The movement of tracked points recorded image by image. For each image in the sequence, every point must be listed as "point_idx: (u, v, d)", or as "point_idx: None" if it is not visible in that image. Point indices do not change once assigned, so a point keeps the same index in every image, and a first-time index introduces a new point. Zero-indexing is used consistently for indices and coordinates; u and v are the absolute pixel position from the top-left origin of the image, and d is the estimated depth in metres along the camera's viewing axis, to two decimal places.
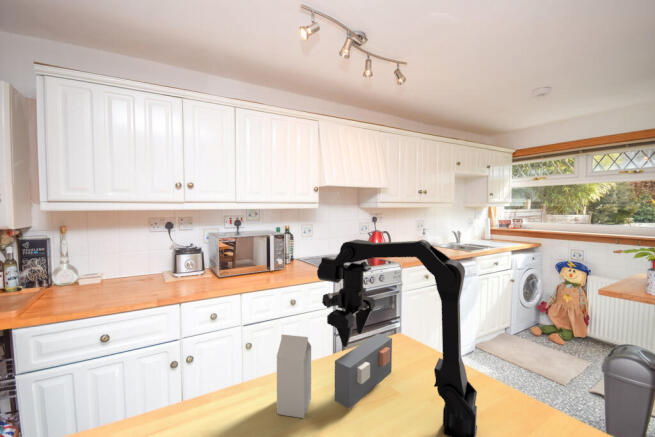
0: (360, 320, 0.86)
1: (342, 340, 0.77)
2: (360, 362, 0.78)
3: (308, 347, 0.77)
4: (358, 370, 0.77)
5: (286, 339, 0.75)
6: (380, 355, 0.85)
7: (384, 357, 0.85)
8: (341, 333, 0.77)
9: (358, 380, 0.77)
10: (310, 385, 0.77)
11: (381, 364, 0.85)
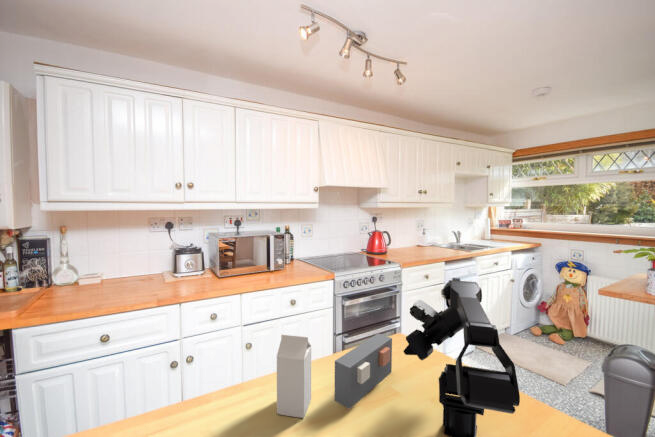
0: None
1: (407, 349, 0.78)
2: (360, 362, 0.78)
3: (308, 347, 0.77)
4: (358, 370, 0.77)
5: (286, 339, 0.75)
6: (380, 355, 0.85)
7: (384, 357, 0.85)
8: None
9: (358, 380, 0.77)
10: (310, 385, 0.77)
11: (381, 364, 0.85)
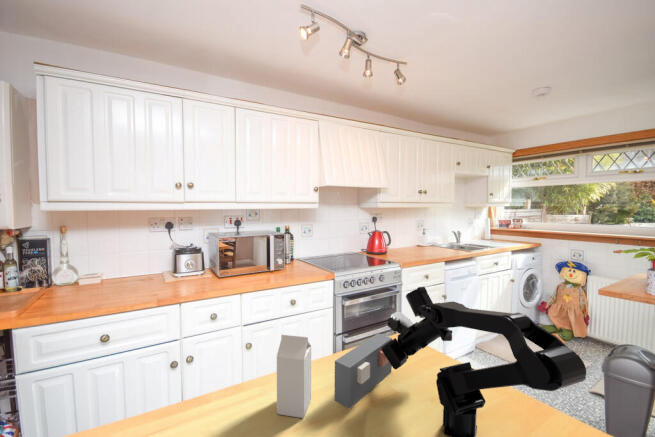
0: None
1: None
2: (360, 362, 0.78)
3: (308, 347, 0.77)
4: (358, 370, 0.77)
5: (286, 339, 0.75)
6: (380, 355, 0.85)
7: (384, 357, 0.85)
8: None
9: (358, 380, 0.77)
10: (310, 385, 0.77)
11: (381, 364, 0.85)
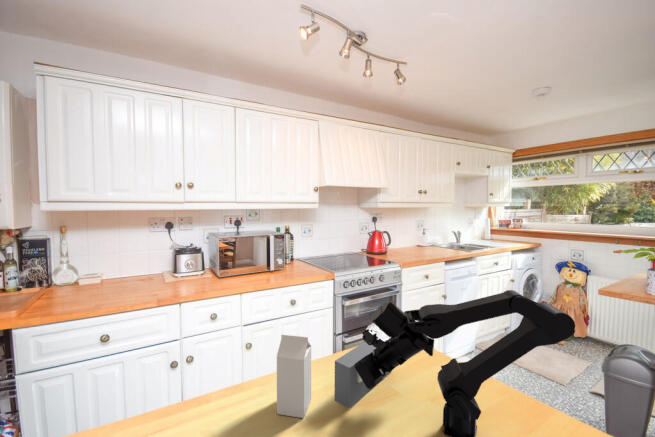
0: None
1: None
2: None
3: (308, 347, 0.77)
4: None
5: (286, 339, 0.75)
6: None
7: None
8: None
9: None
10: (310, 385, 0.77)
11: None
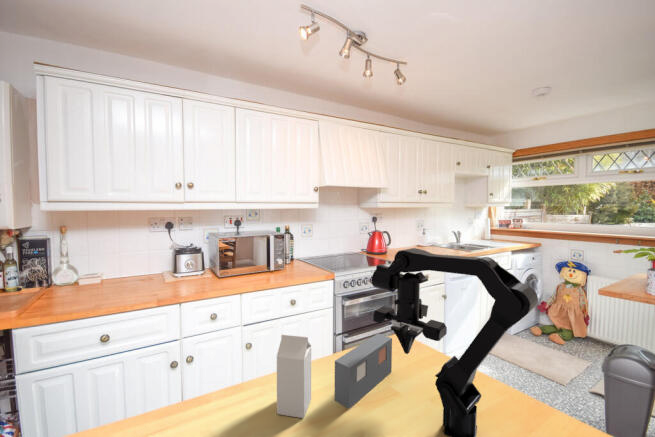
0: None
1: None
2: (360, 362, 0.78)
3: (308, 347, 0.77)
4: None
5: (286, 339, 0.75)
6: None
7: (380, 356, 0.86)
8: None
9: None
10: (310, 385, 0.77)
11: None
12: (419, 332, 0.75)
